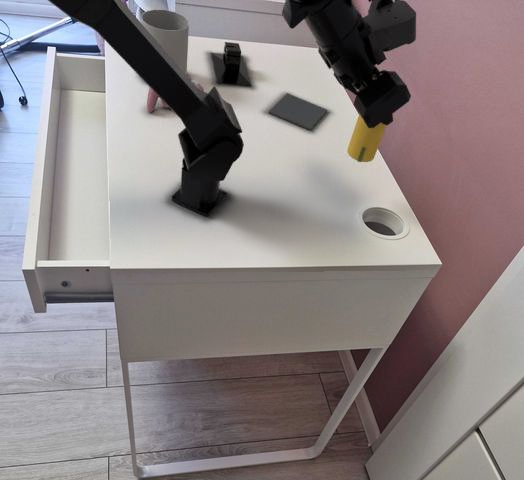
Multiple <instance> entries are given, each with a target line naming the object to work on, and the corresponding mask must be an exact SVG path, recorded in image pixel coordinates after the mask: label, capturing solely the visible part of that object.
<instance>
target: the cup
mask: <svg viewBox="0 0 524 480" xmlns="http://www.w3.org/2000/svg"><path fill="white" fill-rule="evenodd" d="M141 23H142V25H143V26H144V27H145V28H146V29H147V30H148V32H149V33H150V34H151V35H152V36H153V37H154V39H155V40H156V41H157V42H158V43H159V44H160V45H161V47H162V48H163V49H164V50H165V51H166V52H167V54H168V55H169V56H170V57H171V58H172V59H173V61H174V62H175V63H176V64H177V65H178V66H179V68H180V69H181V70H182V71H183V72H184V73H185V74H186V76H188V75H187V73H188V54H189V52H188V51H189V50H188V49H189V31H190V30H189V29H190V25H189V23H190V22H189V20H188V19H187V18H186V17H185V16H184V15H182V14H180V13H178V12H176V11H172V10H168V9H151V10H145V11H144V12H143V13H142V14H141Z"/></svg>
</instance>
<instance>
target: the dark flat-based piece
mask: <svg viewBox="0 0 524 480" xmlns="http://www.w3.org/2000/svg"><path fill="white" fill-rule="evenodd" d="M210 59H211V64H212V68H213V73H214V76H215V81H216V85H223V86H233V87H245V88H251V87H252V86H253V84H252V81H251V78H250V75H249V72H248V69H247V65H246V59H245V58H244V56H243V55H242V49H241V45H240V43H238V42H230V41H229V42H228V41H224V45H223V53H219V52H218V53H217V52H210Z"/></svg>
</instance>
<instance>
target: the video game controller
mask: <svg viewBox="0 0 524 480" xmlns="http://www.w3.org/2000/svg"><path fill="white" fill-rule="evenodd" d="M187 77H188V78H189V79H190V80H191V81H192V83H193V84H194V85H195V86H196V87H197V88H198V89H200V90H202V91H204V92H205V89H204V87H203V86H202V84H201V83H199V82H198V81H196V80H195V79H193V78H192V77H189V76H188V75H187ZM147 91H148V92H147V98H146V109H147V112H148V113H152V112H153V111H154V109H155V108H156V105H157V103H158V101H159V99H160V101H161V104H162V106H164V108H170V107H169V106H168V105H167V104H166V103H165V102H164V101H163V100H162V99H161V98H160V97H159V96H158V95H157V94H156V93H155V92H154V91H153V90H152V89H151V88H150V87H149V86H148V90H147Z"/></svg>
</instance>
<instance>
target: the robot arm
mask: <svg viewBox="0 0 524 480" xmlns="http://www.w3.org/2000/svg"><path fill="white" fill-rule="evenodd" d="M47 1H48V2H49V3H50V4H52V5H53V6H54V7H56V8H57V9H58V10H60V11H61V12H62V13H64V14H65V15H67V16H68V17H69V18H71V19H73V20H75V21H77V22H79V23H81V24H83V25H85V26H86V27H89V28H91V29H92V30H94V31H95V32H97V34H98V35H99V36H100V37H101V38H102V39H103V40H104V41H105V42H106V43H107V44H108V45H109V46H110V47H111V48H112V49H113V50H114V51H115V52H116V53H117V54H118V56H119V57H121V59H122V60H123V61H124V62H125V63H126V64H127V65H128V66H129V67H130V68H131V69H132V70H133V71H134V73H136V74H137V75H138V76H139V78H141V80H142V81H143V82H144V83H146V85H147V86H148V88H149V87H150V88H151V89H152V90H153V91H154V92H155V93H156V94H157V95H158V96H159V97H160V98H161V99H162V100H163V101H164V102H165V103H166V104H167V105H168V106H169V107H168V108H169V109H170V110H171V111H172V112H173V113H174V114H175V115H176V116H177V117H178V119H180V121H181V122H182V124H183V126H184V127H185V128H183V129H182V130H181V131H180V132H179V133H178V134H177V137H178V141H179V144H180V148H181V152H182V154H183V158H182V164H181V174H180V175H181V176H180V177H181V178H180V188H179V189H178V190H177V191H175V193H174V194H172V195H171V201H172V202H174V203H175V204H178V205H180V206H183V207H185V208H187V209H189V210H191V211H194V212H196V213H197V214H200V215H201V216H204V217H209V216H210V215H211V214H212V213H213V212H214V211H215V210H216V209H217V208H218V207H219V206H220V204H221V203H222V202H223V201H224V200H225V199H226V198H227V197H228V192H226V191H225V190H222V189H220V185H221V182H223V181H225V179H226V177H227V176H228V174H229V172H230V170H231V168H232V166H233V165H234V163H235V162H236V161H237V160H238V159H239V158H240V157H241V155H242V153H243V150H244V147H245V146H244V145H245V143H244V140H243V138H242V136H241V134H242V133H243V129H242V127H241V124H240V122H239V120H238V117H237V115H236V112H235V110H234V108H233V105H232V103H230V102H227V101H226V100H225V99H224V98H223V97H222V95H221V94H220V91H219V90H218V88H217V87H216V85H214V86H213V87H212V88H211V89H210V91H209V92H206V91H205V90H204V91H202V90H200V89H198V88H197V87H196V86H195V85H194V84H193V83H192V81H191V80H190V79H189V78H188V77H189V76H188V75H187V76H188V77H187V76H186V74H185V73H184V72H183V71H182V70H181V69H180V68H179V66H178V65H177V64H176V63H175V62H174V61H173V59H172V58H171V57H170V56H169V55H168V54H167V52H166V51H165V50H164V49H163V48H162V47H161V45H160V44H159V43H158V42H157V41H156V40H155V39H154V37H153V36H152V35H151V34H150V33H149V32H148V30H147V29H146V28H145V27H144V26H143V25H142V21H140V20H139V18H137V16H136V15H135V14H134V13H133V11H132V10H130V8H129V7H128V6H127V5H126V4H125V2H124V1H123V0H47ZM367 1H368V3H370V5H369V9H368V10H367V12H368V13H367V15H365V16H362V14H361V13H360V11H359V10H358V9H357V7H356V5H355V3H354V0H284V4H283V7H282V11H281V16H282V17H283V19H284V21H285V22H286V24H287V25H288V27H289V29H291V30H292V29H295V28H296V27H297V26H298V25H299V24H301V23H302V22H303V21H304V22H305V24H306V25H307V27H308V29H309V31H310V33H311V34H312V36H313V38H314V39H315V43H316V44H317V46H318V50H317V52H318V54H319V55H320V57H321V59H322V60H323V62H324V63H325V66H326V67H327V68H328V70H331V69H332V71H333V76H334V78H335V80H336V82H338V84H339V85H341V86H342V87H343V88H344V90H348V91H349V92H350V93H352V94H353V95H355V98H354V101H353V106H354V108H355V110H356V112H357V113H358V116H359V115H360V116H361V118H362V119H363V121H364V122H365V124H366V125H367V127H368V128H374V127H376V126H377V125H378V124H380V123H382V124H384V125H387V126H389V125H390V124H392V123H394V115H393V114H394V113H396V112H397V111H399V110H400V109H401V108H402V107H404V106H405V105H406V104H408V103H409V102H410V100H411V97H412V94H411V92H410V90H409V88H408V86H407V84H406V83H405V81H403V79H402V78H401V77H400V75H399V73H397V72H396V71H395V70H394V71H393V70H386V69H382V70H379V68H378V67H377V66H380V65H381V64H382V63H383V62H385V61H386V60H387V56H386V54H385V53H387V52H391V51H394V50H396V49H397V48H400V47H403V46H405V45H411V44H413V43H414V42H416V39H417V11H416V10H415V9H414V8H413V7H412V6H410V4H409V3H408V2H407V1H405V0H367ZM376 65H377V66H376ZM373 78H374V80H373ZM375 78H377V79H375ZM160 98H159V99H160ZM161 99H160V100H161Z"/></svg>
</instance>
